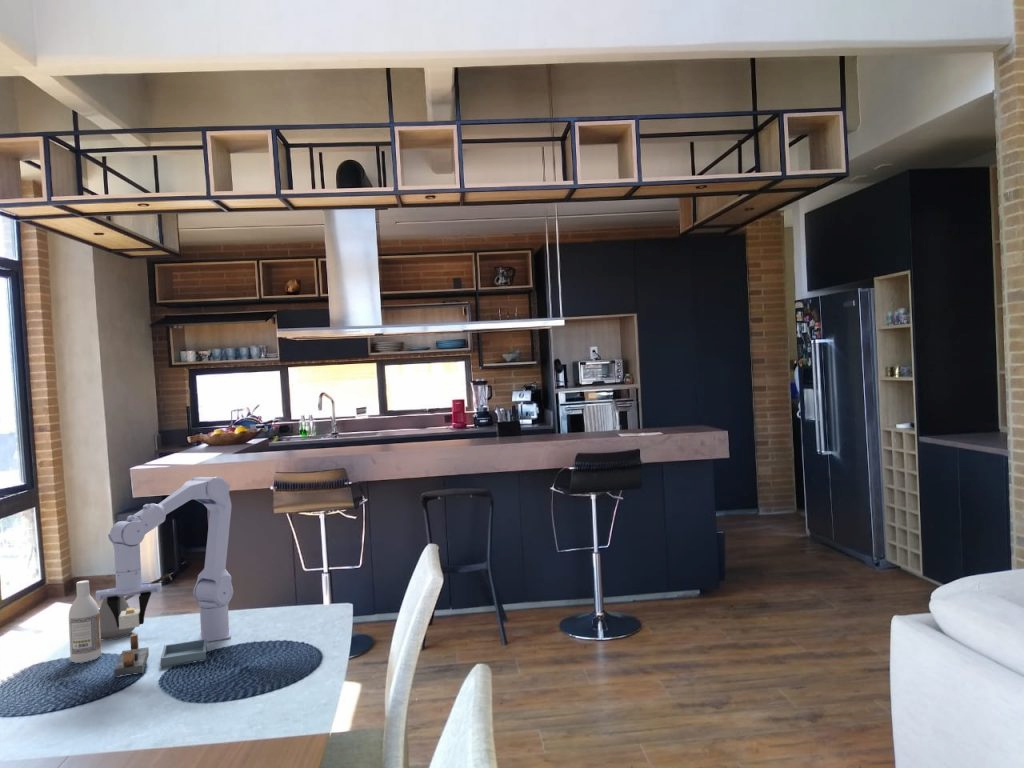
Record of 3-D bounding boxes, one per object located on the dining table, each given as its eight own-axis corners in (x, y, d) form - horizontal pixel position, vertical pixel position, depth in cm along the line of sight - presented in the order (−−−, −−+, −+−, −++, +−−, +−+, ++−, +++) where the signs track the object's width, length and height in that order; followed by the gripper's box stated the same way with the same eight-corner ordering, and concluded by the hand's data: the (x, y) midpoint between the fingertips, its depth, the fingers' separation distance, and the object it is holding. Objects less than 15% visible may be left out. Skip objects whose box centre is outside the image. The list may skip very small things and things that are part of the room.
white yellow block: (122, 622, 192) (121, 608, 192) (141, 620, 194) (141, 605, 194) (119, 629, 187) (118, 614, 187) (139, 626, 188) (138, 611, 188)
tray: (164, 654, 198) (164, 645, 198) (207, 648, 201) (206, 639, 202) (161, 668, 187) (160, 658, 187) (205, 661, 191) (205, 651, 191)
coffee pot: (94, 645, 209) (92, 590, 210) (89, 635, 219) (87, 583, 219) (178, 628, 222) (175, 576, 222) (170, 620, 231) (167, 570, 231)
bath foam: (104, 659, 197) (100, 581, 197) (73, 666, 192) (69, 586, 193) (98, 653, 202) (95, 577, 203) (68, 659, 198) (64, 582, 198)
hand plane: (122, 658, 196) (121, 635, 196) (148, 654, 198) (147, 631, 198) (114, 678, 182) (113, 652, 182) (142, 673, 184) (141, 648, 184)
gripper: (92, 577, 184) (95, 633, 184) (158, 569, 189) (161, 624, 189) (97, 571, 191) (99, 626, 191) (161, 563, 196) (163, 617, 196)
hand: (130, 624), depth 190 cm, fingers closed on white yellow block, 4 cm apart
